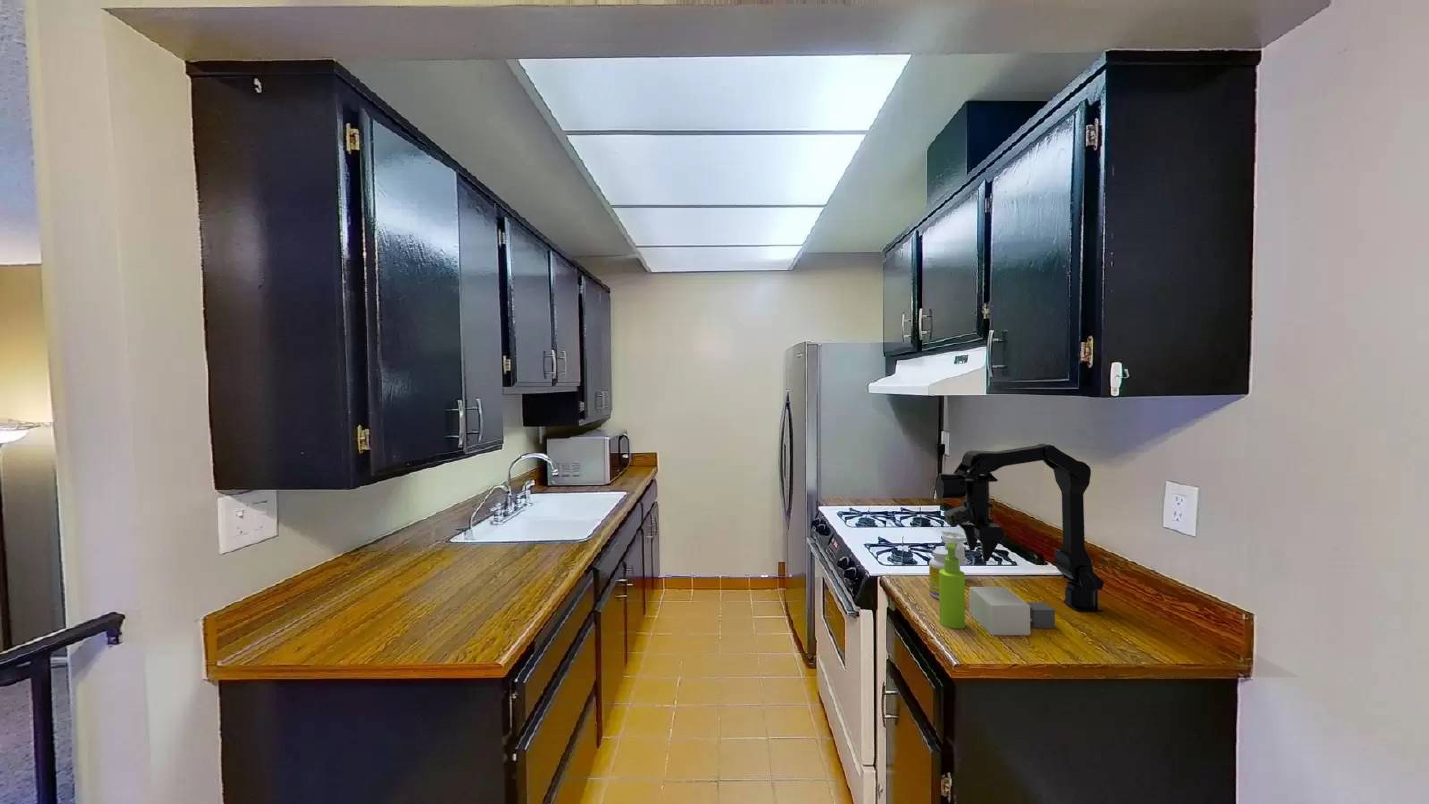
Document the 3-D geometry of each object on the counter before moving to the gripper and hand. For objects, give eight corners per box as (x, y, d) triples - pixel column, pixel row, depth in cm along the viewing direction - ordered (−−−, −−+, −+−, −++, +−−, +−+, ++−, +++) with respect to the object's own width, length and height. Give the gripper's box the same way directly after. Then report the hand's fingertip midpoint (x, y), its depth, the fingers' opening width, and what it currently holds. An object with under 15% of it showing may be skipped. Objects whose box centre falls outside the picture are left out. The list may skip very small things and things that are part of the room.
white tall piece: (943, 574, 167) (942, 527, 166) (967, 577, 164) (967, 529, 163) (941, 581, 160) (941, 533, 160) (967, 584, 157) (966, 535, 157)
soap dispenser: (966, 619, 134) (965, 542, 134) (963, 630, 128) (962, 549, 128) (941, 614, 137) (940, 539, 137) (938, 625, 131) (937, 546, 131)
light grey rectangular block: (1004, 613, 137) (1004, 586, 137) (1030, 635, 125) (1029, 605, 125) (969, 613, 137) (969, 586, 137) (992, 635, 125) (991, 605, 125)
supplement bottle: (940, 602, 145) (939, 556, 145) (924, 593, 152) (923, 549, 151) (960, 598, 147) (959, 553, 147) (943, 590, 154) (943, 547, 153)
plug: (1043, 620, 133) (1043, 602, 133) (1054, 628, 128) (1054, 610, 128) (1019, 620, 133) (1018, 602, 133) (1029, 628, 129) (1029, 610, 128)
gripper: (935, 491, 150) (936, 545, 151) (959, 506, 132) (960, 567, 132) (975, 491, 149) (976, 545, 149) (1005, 505, 130) (1006, 567, 131)
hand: (978, 555), depth 140 cm, fingers open, 9 cm apart
